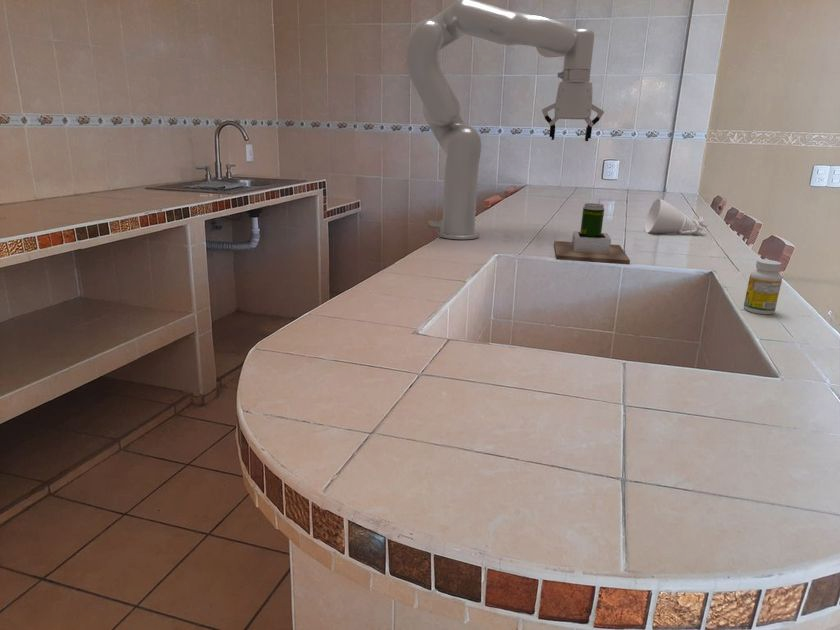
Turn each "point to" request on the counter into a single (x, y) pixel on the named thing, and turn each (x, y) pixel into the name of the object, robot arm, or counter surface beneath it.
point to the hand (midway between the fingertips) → (569, 140)
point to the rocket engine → (671, 220)
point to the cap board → (590, 249)
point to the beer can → (592, 220)
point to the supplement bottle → (763, 287)
